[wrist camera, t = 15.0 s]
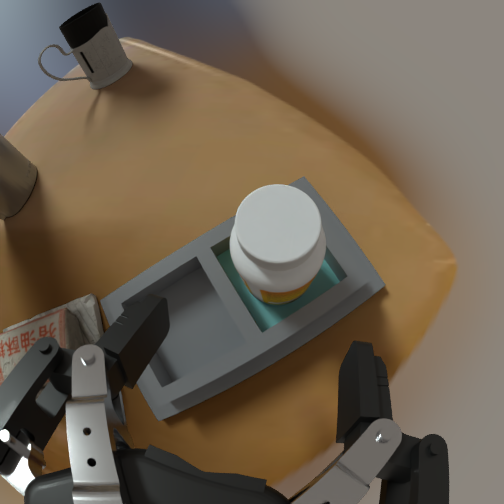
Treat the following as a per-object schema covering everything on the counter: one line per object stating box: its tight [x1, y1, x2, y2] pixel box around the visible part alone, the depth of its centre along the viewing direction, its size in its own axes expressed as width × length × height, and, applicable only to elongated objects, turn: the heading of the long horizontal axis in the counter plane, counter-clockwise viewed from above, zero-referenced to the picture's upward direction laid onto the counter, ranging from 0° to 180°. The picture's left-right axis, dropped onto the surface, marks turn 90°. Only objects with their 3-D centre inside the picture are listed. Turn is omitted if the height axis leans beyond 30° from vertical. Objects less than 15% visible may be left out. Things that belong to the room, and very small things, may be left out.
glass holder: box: [38, 3, 132, 89], centre depth 28 cm, size 9×14×15 cm, turn 148°
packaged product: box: [0, 293, 104, 400], centre depth 19 cm, size 18×5×10 cm
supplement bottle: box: [230, 184, 326, 305], centre depth 17 cm, size 5×5×10 cm
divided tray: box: [100, 177, 385, 421], centre depth 20 cm, size 22×12×3 cm, turn 121°
